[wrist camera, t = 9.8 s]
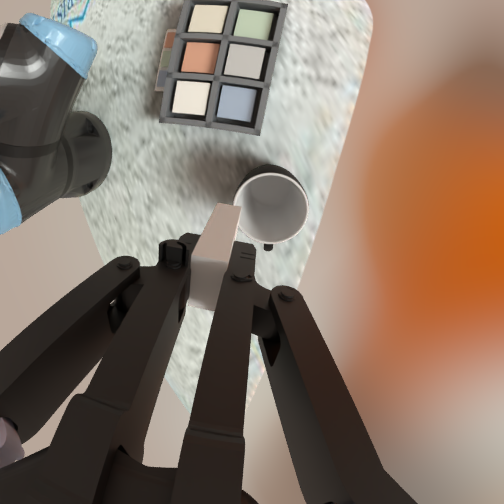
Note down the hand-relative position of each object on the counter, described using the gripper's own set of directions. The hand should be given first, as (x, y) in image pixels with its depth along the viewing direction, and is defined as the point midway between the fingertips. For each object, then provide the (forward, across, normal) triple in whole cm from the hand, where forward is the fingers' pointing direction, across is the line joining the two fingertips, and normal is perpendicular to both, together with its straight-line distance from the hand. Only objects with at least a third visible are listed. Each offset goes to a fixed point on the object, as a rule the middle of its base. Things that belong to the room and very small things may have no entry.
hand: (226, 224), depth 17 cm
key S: (+22, -9, +20) cm, 31 cm away
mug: (+25, +4, -5) cm, 25 cm away
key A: (+23, -3, +8) cm, 25 cm away
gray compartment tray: (+24, -7, +14) cm, 29 cm away
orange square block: (+23, -9, +14) cm, 29 cm away
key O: (+22, -9, +8) cm, 25 cm away
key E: (+23, -3, +20) cm, 31 cm away
